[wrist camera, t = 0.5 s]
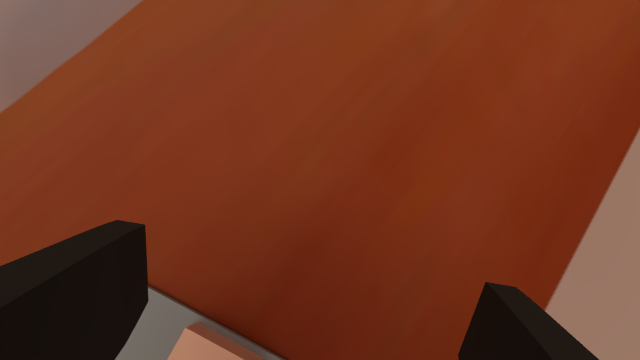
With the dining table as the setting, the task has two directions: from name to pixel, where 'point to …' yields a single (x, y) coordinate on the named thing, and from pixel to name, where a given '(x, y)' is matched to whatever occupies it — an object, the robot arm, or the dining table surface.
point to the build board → (174, 330)
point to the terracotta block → (208, 346)
